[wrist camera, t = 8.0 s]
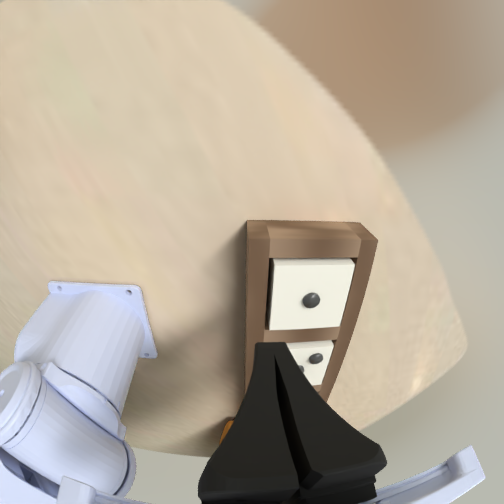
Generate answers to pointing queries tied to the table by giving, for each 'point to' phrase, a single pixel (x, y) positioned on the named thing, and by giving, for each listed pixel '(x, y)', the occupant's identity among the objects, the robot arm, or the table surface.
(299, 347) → the tile three
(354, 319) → the tile board
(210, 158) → the table surface
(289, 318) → the tile one
